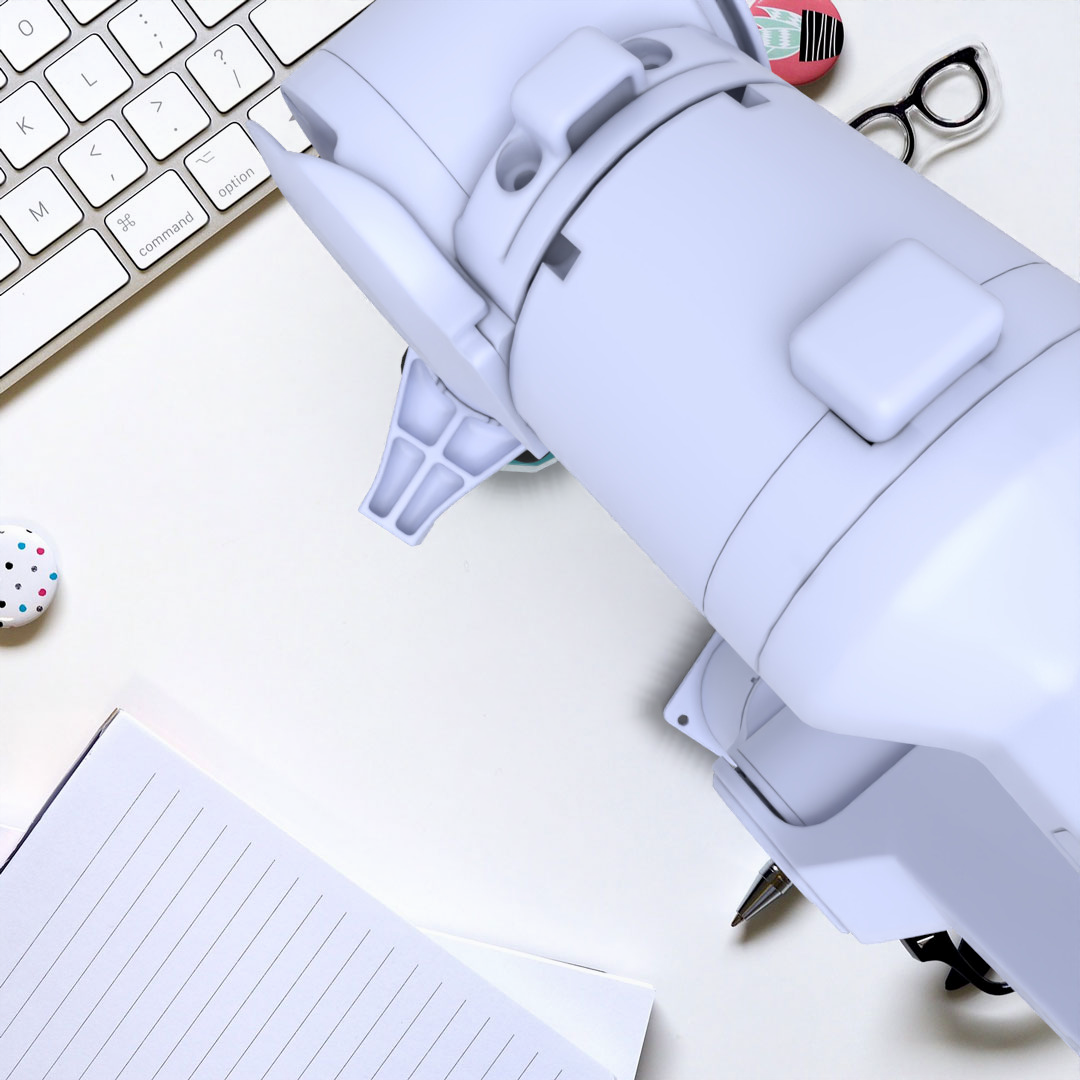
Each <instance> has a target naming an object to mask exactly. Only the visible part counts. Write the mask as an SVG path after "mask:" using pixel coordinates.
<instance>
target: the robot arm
mask: <svg viewBox="0 0 1080 1080" xmlns="http://www.w3.org/2000/svg"><path fill="white" fill-rule="evenodd" d="M279 89H280V93H281V96H282V99H283V100H284V103H285V105H286V106H287V108H288V109H289V111H290V113H291V115H292V117H293V118H294V120H295V121H296V123H297V125H298V126H299V127H300V129H301V131H302V132H303V134H304V135H305V137H306V138H307V140H308V141H309V143H310V144H311V146H312V147H313V148H314V150H315V151H316V153H317V154H318V155H319V157H318V156H316V155H313V154H309V153H304V152H296V151H291V150H287V149H286V148H285V147H284V146H283V144H282V143H280V142H279V141H278V140H277V138H276V137H274V135H272V134H271V133H270V132H269V131H268V130H267V129H266V128H265V127H264V126H263V125H261V123H258V122H257V121H256V120H253V119H248V120H246V121H245V127H246V129H247V131H248V133H249V135H250V137H251V138H252V141H253V143H254V145H255V147H256V148H257V150H258V152H259V155H260V156H261V158H262V160H263V162H264V164H265V166H266V167H267V169H268V171H269V174H270V176H271V178H272V179H273V181H274V183H275V185H276V187H277V188H278V190H279V191H280V192H281V194H282V196H283V197H284V198H285V201H287V202H288V204H289V205H290V207H291V208H292V209H293V210H294V211H295V213H296V214H297V215H298V217H299V218H300V219H301V221H302V222H303V223H304V224H305V225H306V226H307V228H308V230H310V231H311V233H312V234H313V235H314V236H315V238H316V239H317V240H318V242H320V244H321V245H322V246H323V247H324V249H325V250H326V251H327V252H328V253H329V255H330V256H331V257H332V259H333V260H334V261H335V262H336V263H337V265H339V267H340V268H341V269H342V270H343V272H344V273H345V274H346V275H347V276H348V277H349V279H350V280H351V281H352V283H354V284H355V285H356V287H357V288H358V289H359V290H360V292H361V293H362V294H363V295H364V296H365V297H366V299H367V300H368V301H369V302H370V303H371V305H373V307H374V308H375V309H376V310H377V311H378V312H379V314H380V315H381V316H382V317H383V318H384V319H385V320H386V321H387V323H388V324H389V325H390V326H391V327H392V328H393V330H395V332H396V333H397V334H398V335H399V336H400V338H402V340H403V341H404V342H405V343H406V344H407V345H408V346H407V347H406V349H405V351H404V353H403V355H402V357H401V362H400V373H401V374H400V375H401V377H400V381H399V386H398V390H397V394H396V398H395V402H394V403H395V404H394V407H393V411H392V414H391V415H392V416H391V420H390V424H389V428H388V432H387V436H386V441H385V444H384V448H383V453H382V456H381V460H380V462H379V463H380V464H379V467H378V469H377V472H376V475H375V477H374V479H373V481H372V484H371V486H370V488H369V489H368V491H367V493H366V494H365V496H364V498H363V500H362V502H361V503H360V505H359V506H358V507H357V511H358V513H360V514H361V515H363V516H364V517H366V518H367V519H369V520H370V521H372V522H374V523H375V524H376V525H378V526H380V527H381V528H382V529H384V530H385V531H387V532H388V533H390V534H392V535H393V536H395V537H396V538H398V539H399V540H401V541H402V542H404V543H405V544H407V545H408V546H409V547H417V546H420V545H422V543H423V542H424V541H425V539H426V537H427V536H428V534H429V533H430V532H431V530H432V528H433V526H434V525H435V522H436V521H437V520H438V519H439V518H440V517H441V516H442V515H443V514H444V513H445V512H446V511H448V509H450V508H451V507H453V505H454V504H456V503H457V502H458V501H460V500H461V499H462V498H463V497H465V496H466V495H467V494H469V493H471V491H473V490H474V489H476V488H477V487H478V486H480V485H481V484H482V483H484V482H485V481H486V480H487V479H489V478H490V477H492V476H494V475H495V474H496V473H497V472H499V471H500V469H501V468H503V467H504V466H505V465H507V464H508V463H509V462H511V461H512V460H516V461H518V462H522V463H535V462H537V461H540V460H541V459H543V458H544V457H546V456H547V455H548V454H549V453H550V452H551V453H552V454H553V455H554V456H555V457H556V458H557V459H558V460H559V461H558V462H559V463H560V464H561V465H562V466H563V467H564V468H565V469H566V470H567V472H569V474H571V476H572V477H574V479H575V480H576V481H577V482H578V483H579V484H580V485H581V486H582V487H583V488H584V489H585V490H586V492H587V493H588V494H589V495H590V496H591V497H592V498H593V499H594V500H595V501H596V502H597V503H598V505H600V506H601V507H602V509H603V510H604V511H605V512H606V513H607V514H608V515H609V516H610V517H611V518H612V519H613V521H614V522H616V524H617V525H618V526H619V527H620V528H621V529H622V531H624V532H625V533H626V534H627V535H628V537H629V538H630V539H632V540H633V542H634V544H636V545H637V546H638V547H639V548H640V549H641V550H642V551H643V553H644V554H645V555H646V556H647V557H648V558H649V559H650V560H651V561H652V562H653V563H654V564H655V566H656V567H657V568H658V569H659V570H660V571H661V572H662V573H663V574H664V575H665V576H666V578H668V580H669V581H671V583H672V584H673V585H674V586H675V587H676V588H677V589H678V591H680V592H681V593H682V594H683V596H684V597H685V598H686V599H687V600H688V601H689V602H690V603H691V605H692V606H694V608H696V610H697V611H698V612H699V613H700V614H701V615H702V616H703V617H704V618H705V619H706V620H707V622H708V623H709V624H710V625H711V626H712V627H713V628H714V630H715V631H714V632H713V634H712V636H711V637H710V639H709V640H708V641H707V643H706V645H705V646H704V648H703V649H702V650H701V652H700V654H699V655H698V657H697V658H696V660H695V661H694V662H693V664H692V666H691V668H689V671H687V673H686V675H685V676H684V678H683V680H682V681H681V682H680V684H679V685H678V686H677V688H676V690H675V692H674V693H673V695H672V696H671V697H670V699H669V700H668V702H667V704H666V705H665V706H664V709H663V711H662V715H663V719H664V720H665V721H666V722H667V723H668V724H669V725H671V727H674V728H675V729H677V730H678V731H680V732H681V733H683V734H684V735H686V736H687V737H689V738H691V739H692V740H693V741H695V742H697V743H698V744H700V745H701V746H702V747H704V748H706V749H707V750H709V751H711V752H712V753H713V754H715V755H716V756H718V758H717V759H716V760H714V762H713V763H712V764H711V769H712V771H713V774H712V788H713V789H714V791H715V792H716V794H717V795H718V796H719V798H720V799H721V800H722V801H723V802H724V804H725V805H726V806H727V808H728V809H729V810H730V812H731V813H732V814H733V815H734V816H735V817H736V818H737V820H738V821H739V823H741V825H742V826H743V827H744V829H745V830H746V831H747V832H748V833H749V834H750V835H751V837H752V838H753V839H754V840H755V841H756V842H757V843H758V845H759V846H760V848H761V849H763V851H764V852H765V853H766V854H767V856H769V858H770V859H771V860H772V861H773V863H774V864H775V865H776V866H777V867H778V868H779V869H780V870H781V871H782V873H783V874H784V875H785V876H786V877H787V879H789V881H790V882H791V883H792V884H793V886H795V888H797V890H798V891H799V892H800V893H801V894H802V895H803V896H804V897H805V898H806V899H807V900H808V901H809V902H810V904H813V905H815V907H816V908H817V909H818V910H819V911H820V912H821V914H823V916H824V917H825V918H826V919H827V920H828V921H829V922H830V923H831V924H832V925H833V927H834V928H835V929H836V930H837V931H838V932H839V933H841V934H845V935H848V934H851V935H852V936H853V937H854V938H855V939H856V940H857V941H858V942H859V944H861V945H877V944H878V945H879V944H883V943H888V942H894V941H898V940H904V939H909V938H915V937H920V936H924V935H929V934H935V933H940V932H945V931H950V930H954V931H955V932H956V933H957V934H958V935H959V936H960V937H961V938H962V939H963V940H964V941H965V942H966V943H967V944H968V945H969V946H970V947H971V948H972V949H973V950H974V952H976V953H977V954H978V955H979V956H980V957H981V958H982V959H983V960H984V961H985V963H986V964H988V965H989V966H990V968H992V970H994V971H995V973H997V975H998V976H999V977H1000V978H1001V979H1002V980H1003V981H1004V982H1005V983H1006V984H1007V985H1008V986H1009V987H1010V988H1011V989H1012V990H1013V991H1014V992H1015V993H1016V994H1017V995H1018V996H1019V997H1020V998H1021V999H1022V1000H1023V1001H1024V1003H1026V1004H1027V1005H1028V1006H1029V1007H1030V1008H1031V1010H1033V1012H1035V1013H1036V1015H1038V1017H1040V1018H1041V1019H1042V1020H1043V1021H1044V1023H1046V1024H1047V1026H1048V1027H1049V1028H1051V1030H1053V1032H1055V1034H1056V1035H1058V1037H1060V1039H1061V1040H1062V1041H1063V1042H1064V1043H1065V1044H1066V1045H1067V1046H1068V1047H1069V1048H1070V1049H1071V1050H1072V1051H1073V1052H1074V1053H1075V1054H1076V1055H1077V1056H1078V1057H1079V1058H1080V282H1078V281H1077V280H1076V279H1074V278H1072V277H1071V276H1069V275H1068V274H1066V273H1065V272H1064V271H1062V270H1061V269H1060V268H1058V267H1056V266H1054V265H1052V264H1051V263H1050V262H1049V261H1047V260H1046V259H1044V258H1043V257H1041V256H1040V255H1038V254H1037V253H1036V252H1034V251H1032V250H1031V249H1030V248H1028V247H1027V246H1026V245H1024V244H1022V243H1021V242H1020V241H1018V240H1017V239H1015V238H1014V237H1012V236H1010V235H1009V234H1008V233H1006V232H1005V231H1003V230H1002V229H1001V228H999V227H998V226H996V225H995V224H993V223H992V222H990V221H989V220H988V219H986V218H984V217H983V216H982V215H980V214H979V213H977V212H976V211H974V210H973V209H972V208H970V207H969V206H967V205H966V204H965V203H963V202H961V200H958V199H957V198H956V197H954V196H952V195H951V194H950V193H948V192H947V191H945V190H944V189H943V188H941V187H940V186H938V185H936V184H935V183H933V182H932V181H931V180H929V179H928V178H926V177H925V176H924V175H922V174H921V173H919V172H918V171H916V170H915V169H914V168H912V167H910V165H907V164H906V163H905V162H903V161H902V160H900V159H899V158H898V157H896V156H894V155H893V154H891V152H889V151H888V150H886V149H884V148H883V147H882V146H880V145H878V144H877V143H876V142H874V141H873V140H871V139H870V138H868V136H866V135H864V134H863V133H861V132H859V131H858V130H857V129H855V128H854V127H852V126H851V125H849V124H848V123H847V122H845V121H844V120H843V119H841V118H840V117H838V116H837V115H835V114H833V113H832V112H831V111H829V110H828V109H826V108H825V107H823V106H822V105H820V103H817V102H816V101H815V100H814V99H811V98H810V97H809V96H807V95H806V94H804V93H803V92H801V90H799V89H798V88H796V87H795V86H793V84H790V83H789V82H788V81H786V80H785V79H783V78H782V77H780V75H778V74H776V73H775V72H773V71H772V66H771V63H770V58H769V56H768V52H767V49H766V45H765V42H764V39H763V37H762V34H761V31H760V29H759V27H758V24H757V22H756V20H755V17H754V15H753V13H752V10H751V8H750V6H749V4H748V2H747V0H375V1H373V2H372V3H370V5H369V6H368V7H366V9H364V10H363V11H361V13H360V14H358V15H357V16H356V17H355V18H354V19H353V20H352V21H350V22H349V23H348V24H347V25H346V26H344V27H343V28H342V29H341V30H340V31H339V32H338V33H337V34H335V35H334V36H333V37H332V38H330V39H329V40H328V41H327V42H326V43H325V44H324V45H322V47H320V48H319V49H318V50H317V51H316V52H315V53H313V54H312V55H311V56H310V57H308V59H307V60H305V61H304V62H303V63H302V64H301V65H299V66H298V67H297V68H296V69H295V70H293V72H292V73H290V74H289V75H288V76H287V77H286V78H284V79H283V80H282V81H281V82H280V85H279ZM681 716H686V718H687V719H686V722H684V723H681V722H680V723H679V718H680V717H681Z"/></svg>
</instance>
